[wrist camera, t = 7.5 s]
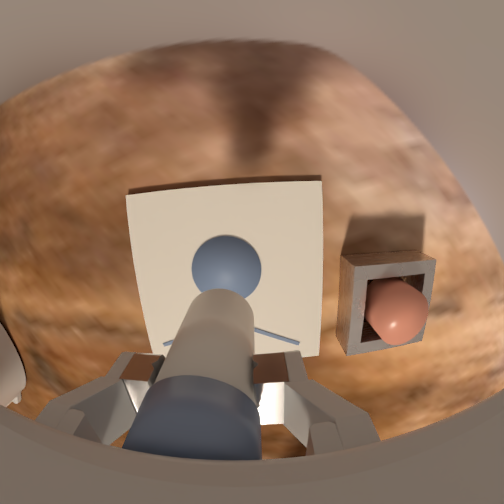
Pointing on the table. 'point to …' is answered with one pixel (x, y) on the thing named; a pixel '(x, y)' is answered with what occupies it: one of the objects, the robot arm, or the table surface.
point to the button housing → (355, 286)
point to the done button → (395, 310)
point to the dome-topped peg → (204, 387)
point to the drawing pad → (232, 258)
